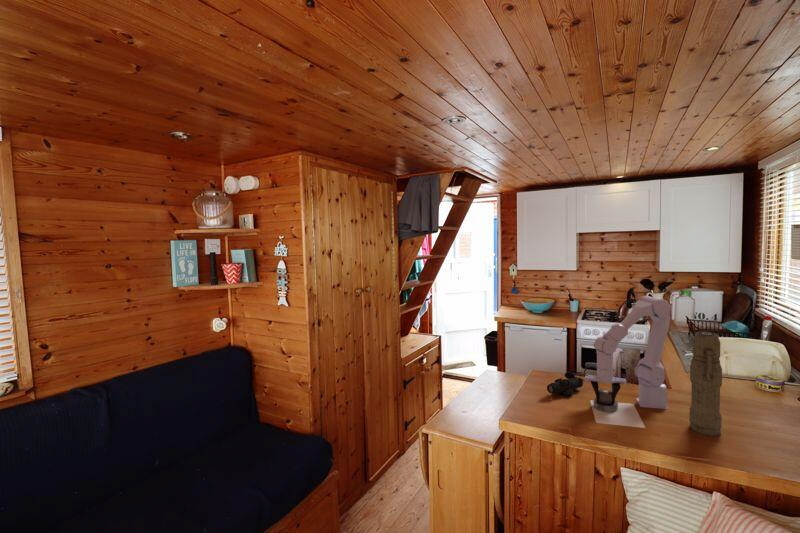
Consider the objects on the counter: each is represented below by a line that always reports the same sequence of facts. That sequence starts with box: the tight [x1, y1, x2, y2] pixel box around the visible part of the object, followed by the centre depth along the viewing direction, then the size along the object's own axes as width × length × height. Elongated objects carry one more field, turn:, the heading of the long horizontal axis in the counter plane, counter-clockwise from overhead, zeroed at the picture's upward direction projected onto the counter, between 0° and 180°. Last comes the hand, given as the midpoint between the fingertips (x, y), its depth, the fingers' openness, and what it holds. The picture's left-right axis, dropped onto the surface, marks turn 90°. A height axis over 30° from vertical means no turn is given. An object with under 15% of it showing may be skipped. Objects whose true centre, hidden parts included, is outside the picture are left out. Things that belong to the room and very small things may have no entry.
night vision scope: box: [546, 371, 585, 398], centre depth 173 cm, size 8×18×10 cm
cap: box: [598, 389, 612, 405], centre depth 156 cm, size 5×5×5 cm
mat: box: [589, 399, 646, 429], centre depth 152 cm, size 16×20×1 cm
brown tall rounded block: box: [688, 330, 723, 438], centre depth 136 cm, size 9×12×35 cm
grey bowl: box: [592, 397, 619, 413], centre depth 157 cm, size 8×8×3 cm
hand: (605, 400), depth 157 cm, fingers closed on cap, 5 cm apart
